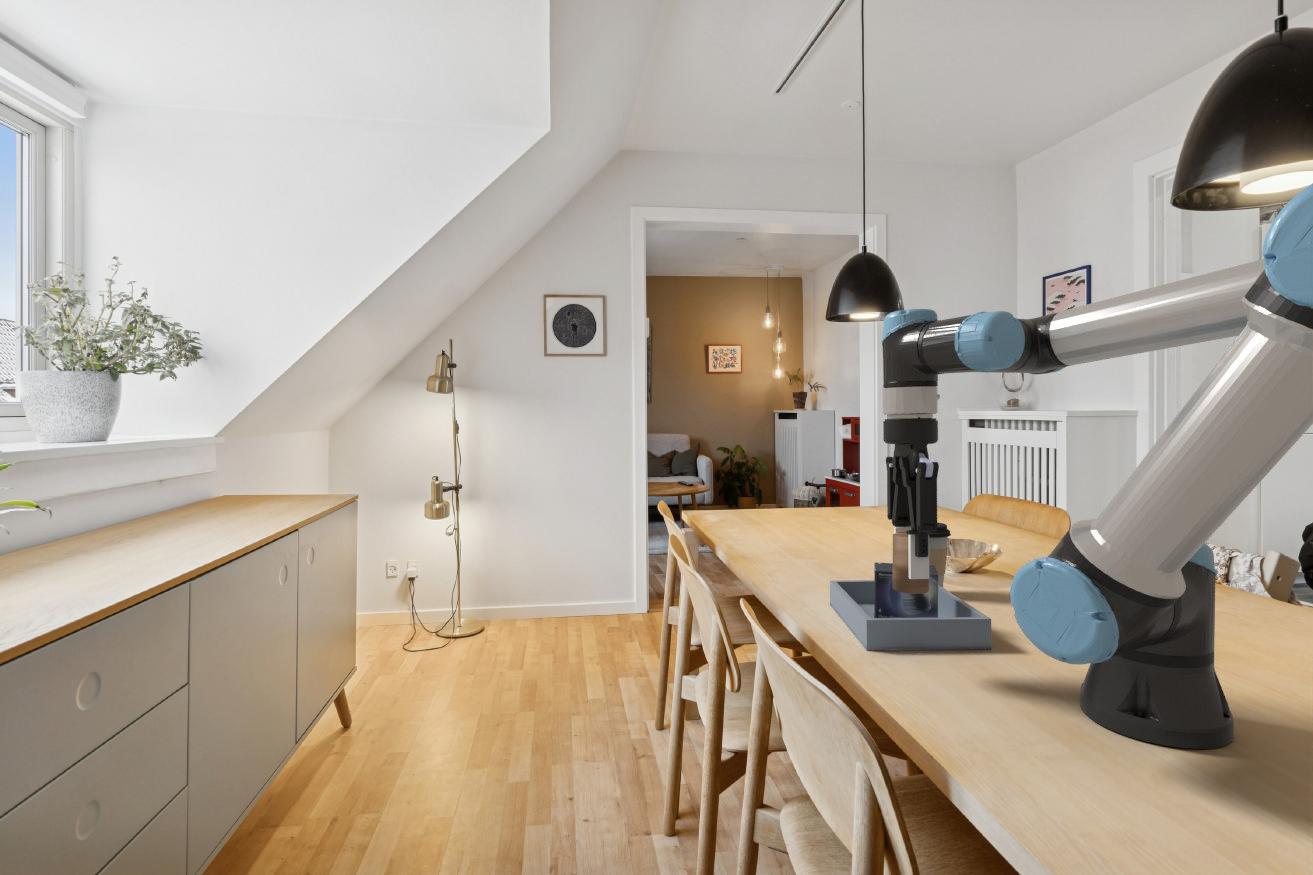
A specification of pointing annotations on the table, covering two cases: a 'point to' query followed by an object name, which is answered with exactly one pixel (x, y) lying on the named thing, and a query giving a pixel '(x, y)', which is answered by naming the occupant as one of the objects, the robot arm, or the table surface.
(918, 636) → the tray
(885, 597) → the small box
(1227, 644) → the table surface
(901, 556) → the walnut cylinder
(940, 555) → the coffee cup
